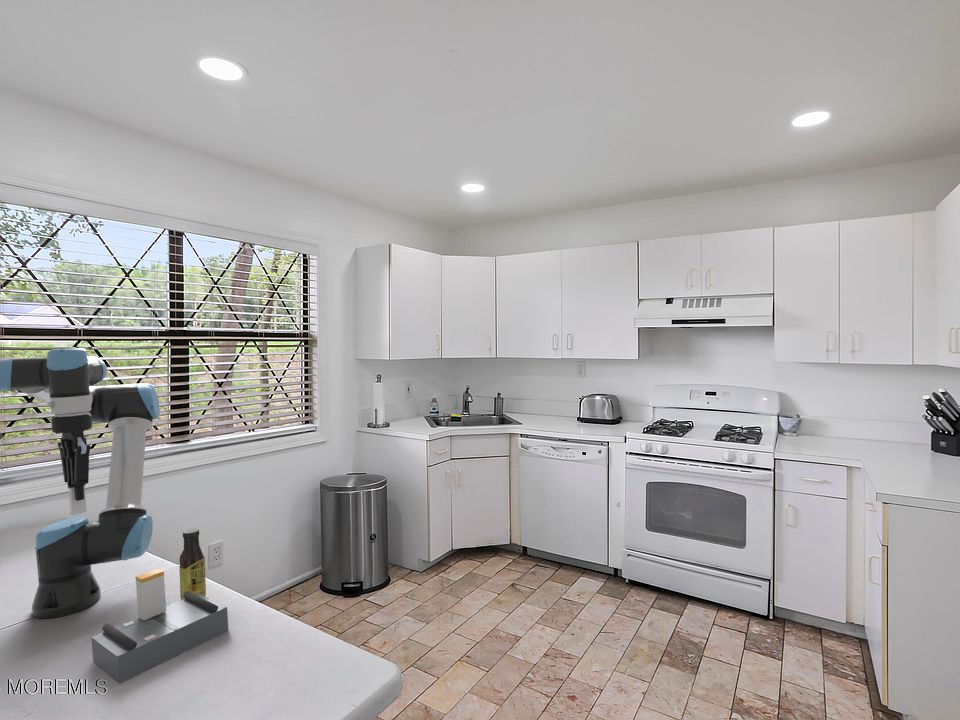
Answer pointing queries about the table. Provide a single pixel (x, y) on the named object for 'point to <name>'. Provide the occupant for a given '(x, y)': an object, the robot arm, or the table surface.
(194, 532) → the sauce bottle
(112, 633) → the pair of dark rails
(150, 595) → the lever
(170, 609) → the switch panel
